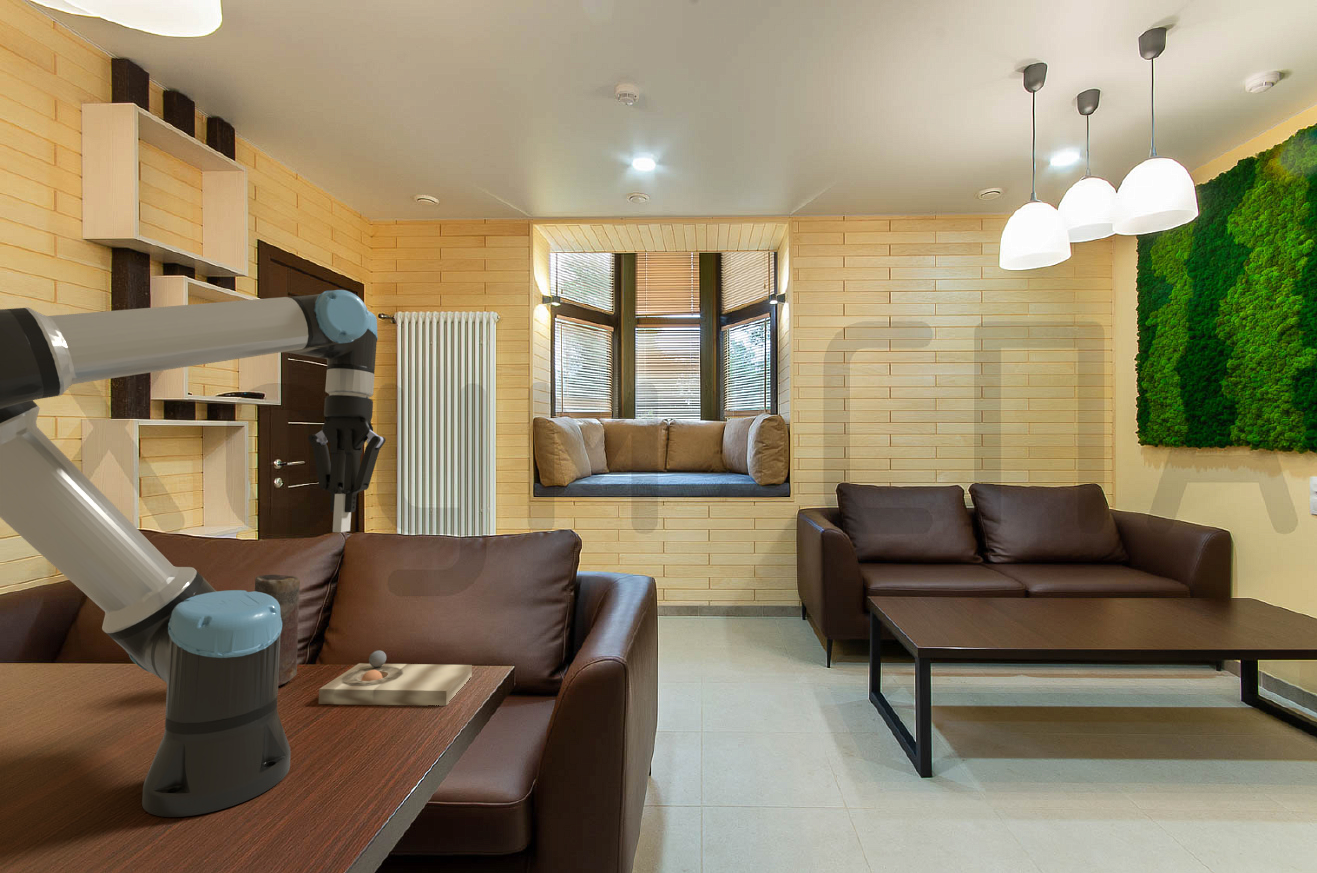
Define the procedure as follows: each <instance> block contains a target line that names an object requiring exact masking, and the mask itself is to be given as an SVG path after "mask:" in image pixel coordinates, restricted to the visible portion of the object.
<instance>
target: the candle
mask: <svg viewBox="0 0 1317 873" xmlns="http://www.w3.org/2000/svg"><path fill="white" fill-rule="evenodd" d="M300 582H301V581H300V578H299V577H298V576H296V575H286V574H284V575H280V574H262V575H257V576H256V577H255V580H254V591H256V592H261V593H265V594H268V595H270V596H272V597H273V598H275V599H276V600H277V601H278V603H279V605H280V614H281V620H282V630H281V638H280V658H279V678H278V687H279V686H281V685H284V684H286V683H288V682H290V681H291V680H292V679H293V678H294V677H296V676H297V674H298V673H297V671H298V670H297V669H298V644H299V642H298V641H299V640H298V638H299V613H300V611H299V608H300V588H301V587H300V586H301V584H300Z"/></svg>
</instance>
